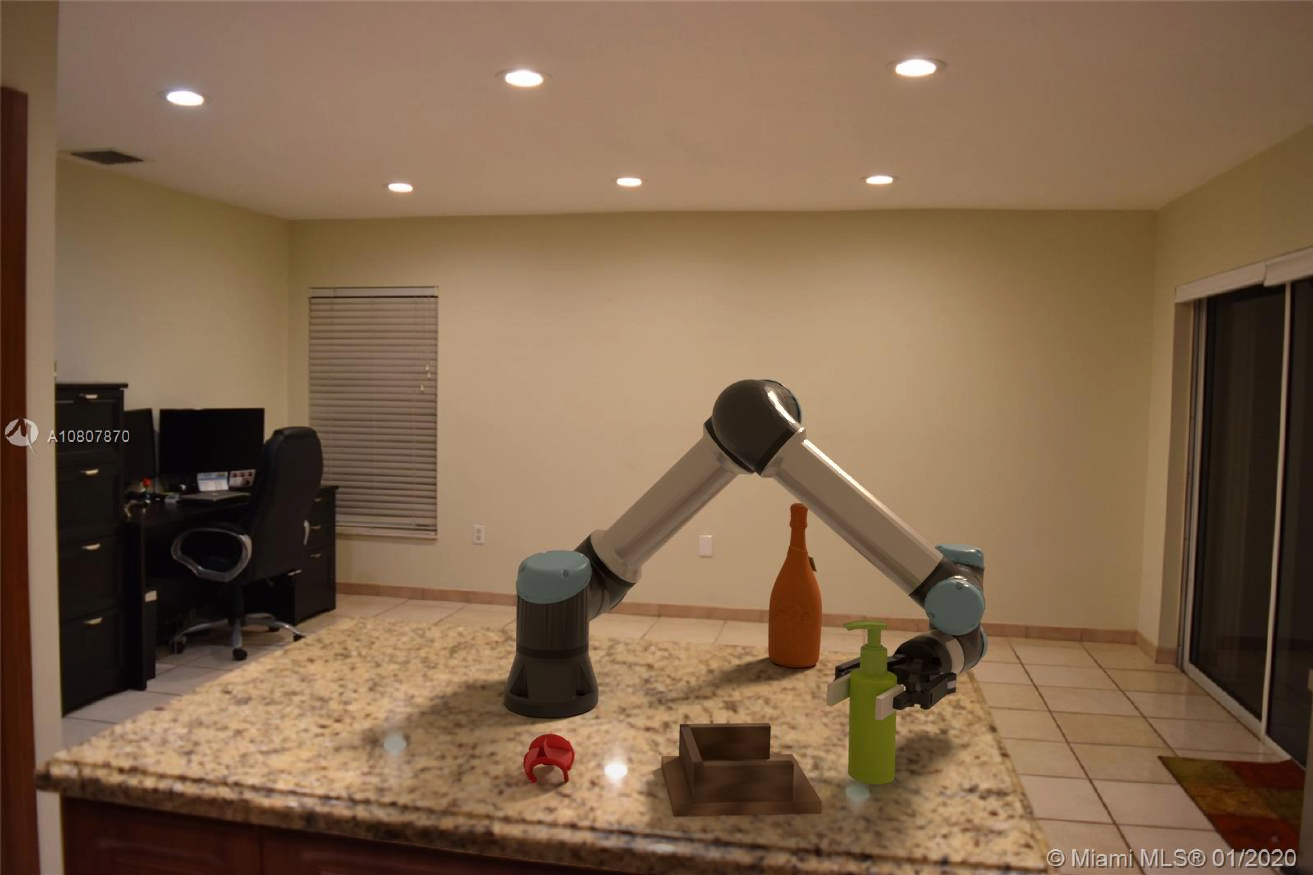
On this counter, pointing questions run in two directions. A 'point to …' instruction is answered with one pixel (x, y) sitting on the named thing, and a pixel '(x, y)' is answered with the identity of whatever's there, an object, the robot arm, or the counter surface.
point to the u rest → (734, 773)
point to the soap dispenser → (871, 711)
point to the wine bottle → (795, 602)
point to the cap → (549, 755)
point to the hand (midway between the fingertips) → (853, 702)
